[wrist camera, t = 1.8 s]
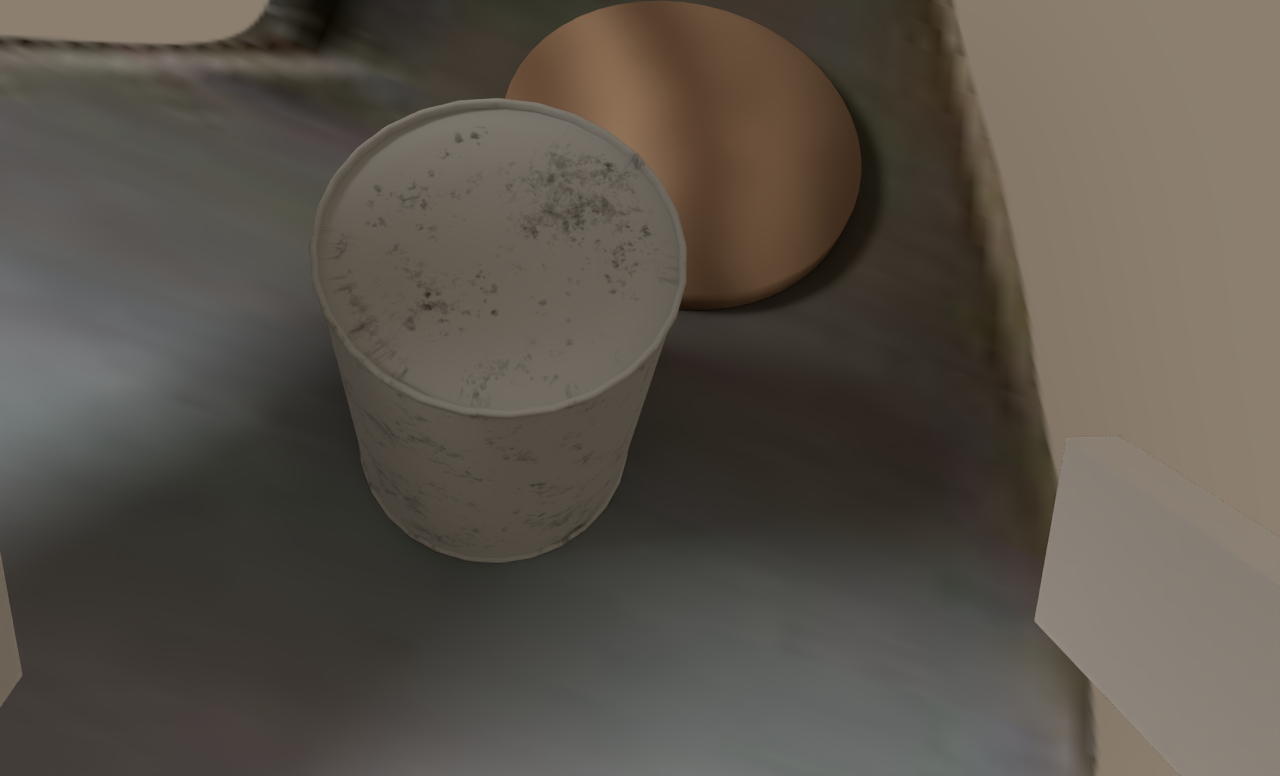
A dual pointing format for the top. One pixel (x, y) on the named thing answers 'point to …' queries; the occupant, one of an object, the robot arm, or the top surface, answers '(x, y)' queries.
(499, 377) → the white speckled cylinder
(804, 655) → the top surface
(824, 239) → the walnut board
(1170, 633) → the robot arm
